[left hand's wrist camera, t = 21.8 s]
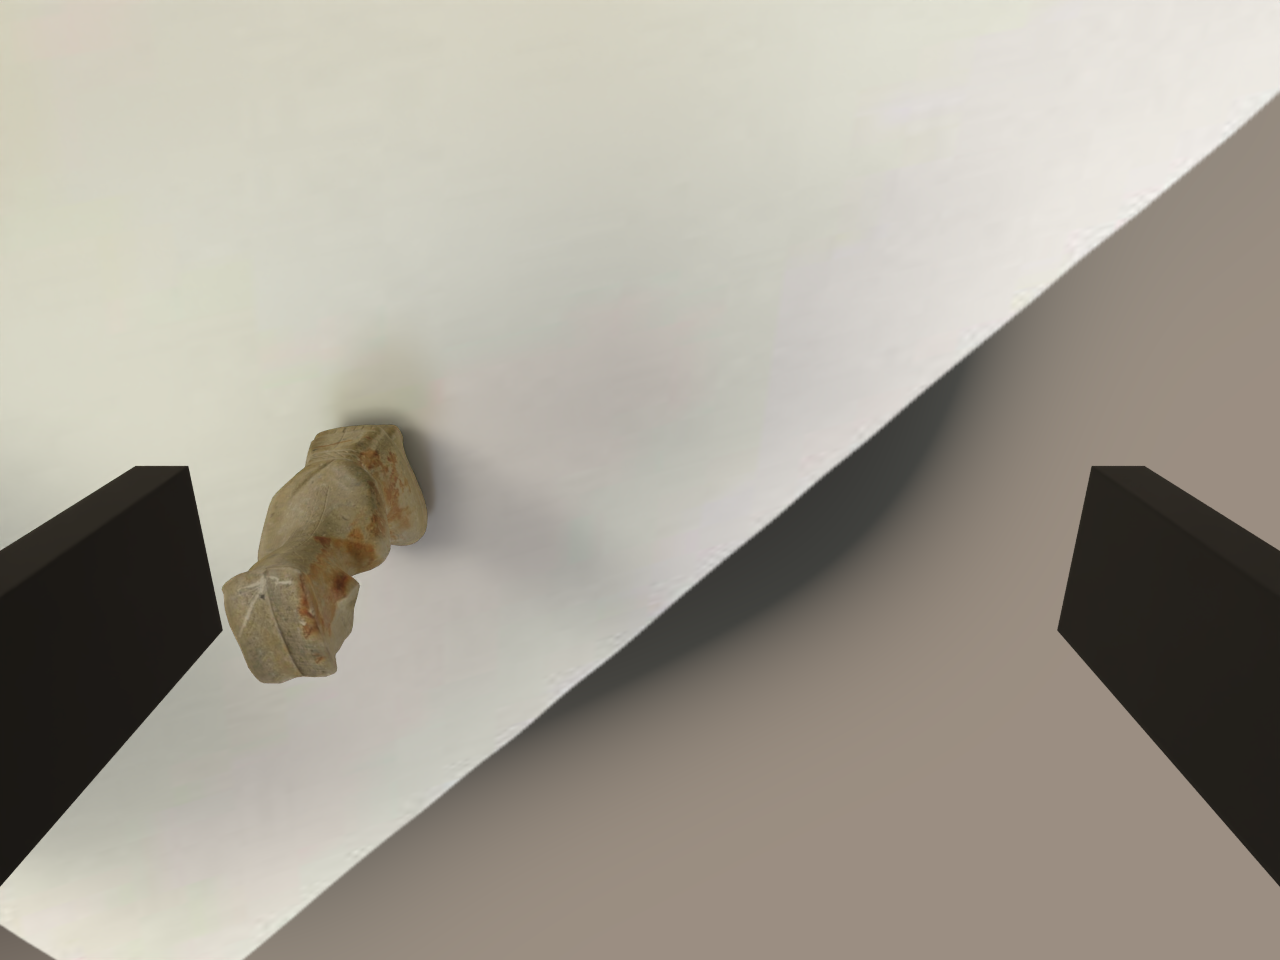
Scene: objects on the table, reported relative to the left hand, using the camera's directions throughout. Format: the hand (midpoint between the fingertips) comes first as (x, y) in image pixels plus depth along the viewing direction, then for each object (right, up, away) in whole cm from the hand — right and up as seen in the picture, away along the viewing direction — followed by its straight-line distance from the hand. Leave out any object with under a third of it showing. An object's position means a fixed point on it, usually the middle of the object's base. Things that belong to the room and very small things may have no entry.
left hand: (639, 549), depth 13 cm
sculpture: (-14, +1, +33) cm, 36 cm away
